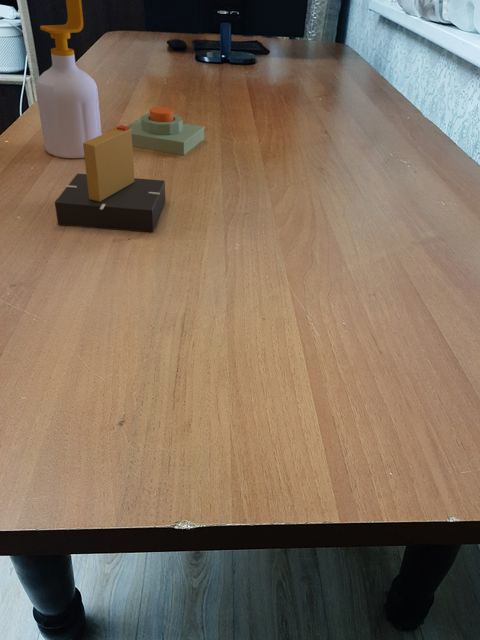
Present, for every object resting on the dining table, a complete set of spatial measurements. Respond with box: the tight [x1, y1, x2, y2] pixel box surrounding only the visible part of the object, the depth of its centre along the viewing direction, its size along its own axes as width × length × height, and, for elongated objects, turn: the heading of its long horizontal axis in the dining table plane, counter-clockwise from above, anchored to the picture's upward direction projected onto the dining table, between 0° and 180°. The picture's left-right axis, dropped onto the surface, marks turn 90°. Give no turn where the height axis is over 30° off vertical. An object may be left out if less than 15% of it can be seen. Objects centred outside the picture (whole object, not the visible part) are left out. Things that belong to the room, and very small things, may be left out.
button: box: [149, 106, 174, 122], centre depth 98 cm, size 4×4×2 cm
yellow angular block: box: [83, 125, 135, 202], centre depth 72 cm, size 8×2×7 cm, turn 158°
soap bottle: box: [35, 0, 103, 160], centre depth 86 cm, size 9×9×25 cm
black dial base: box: [54, 173, 166, 233], centre depth 75 cm, size 12×12×3 cm
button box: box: [126, 112, 205, 156], centre depth 99 cm, size 12×10×4 cm
